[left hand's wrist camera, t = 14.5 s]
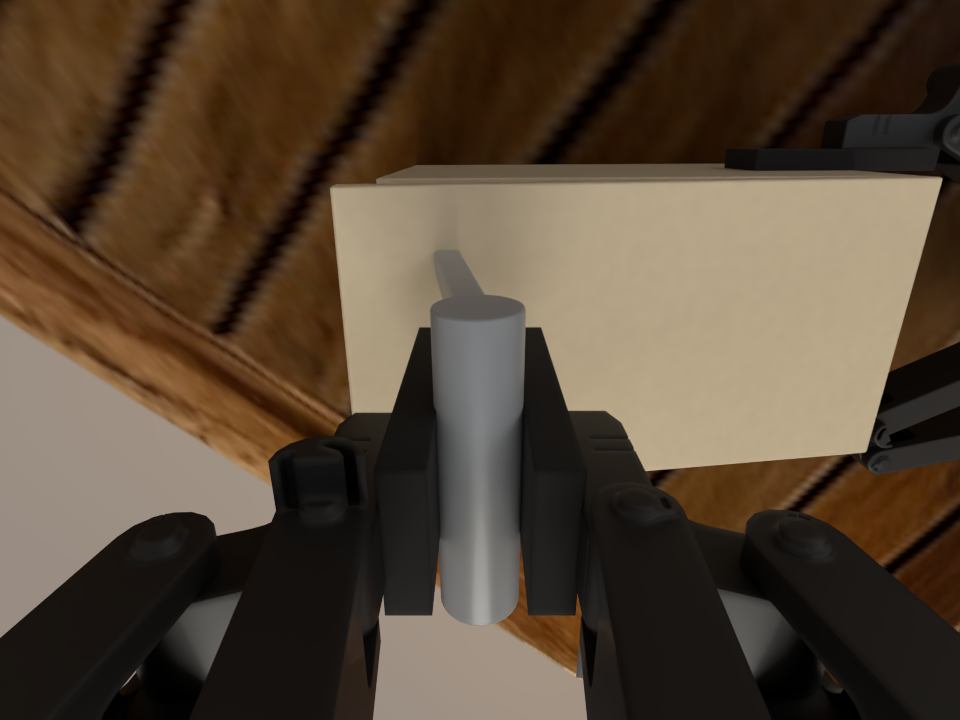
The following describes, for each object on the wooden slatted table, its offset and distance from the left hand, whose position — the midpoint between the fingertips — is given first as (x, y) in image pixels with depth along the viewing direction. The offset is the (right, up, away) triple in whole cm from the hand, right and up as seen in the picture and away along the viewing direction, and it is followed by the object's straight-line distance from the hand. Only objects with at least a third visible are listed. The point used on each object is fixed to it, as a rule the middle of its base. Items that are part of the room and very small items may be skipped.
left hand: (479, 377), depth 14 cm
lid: (+5, +1, +3) cm, 6 cm away
